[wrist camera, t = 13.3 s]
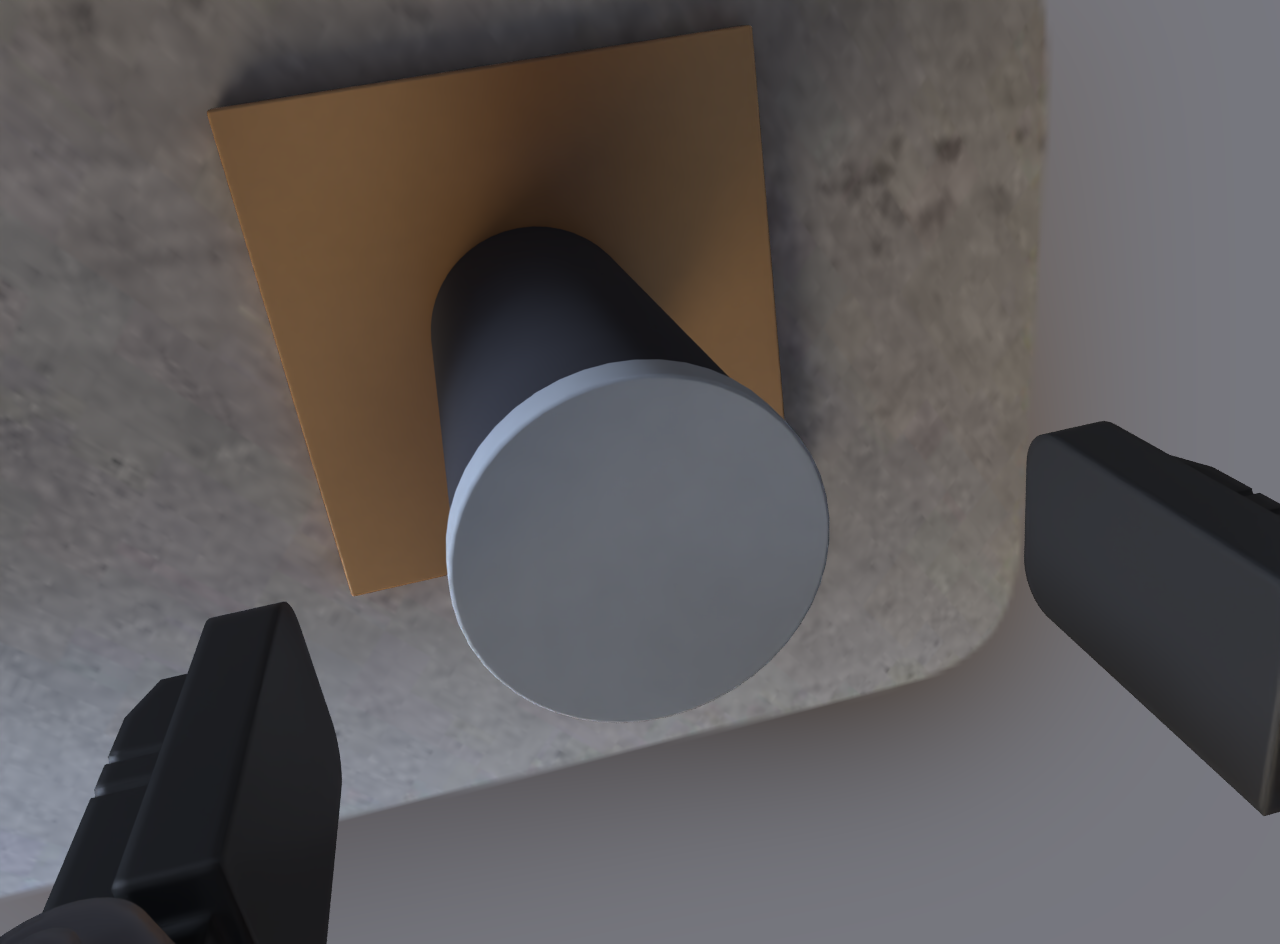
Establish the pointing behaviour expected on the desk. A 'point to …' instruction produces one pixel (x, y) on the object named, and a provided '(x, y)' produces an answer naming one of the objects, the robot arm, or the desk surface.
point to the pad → (474, 211)
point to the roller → (611, 489)
